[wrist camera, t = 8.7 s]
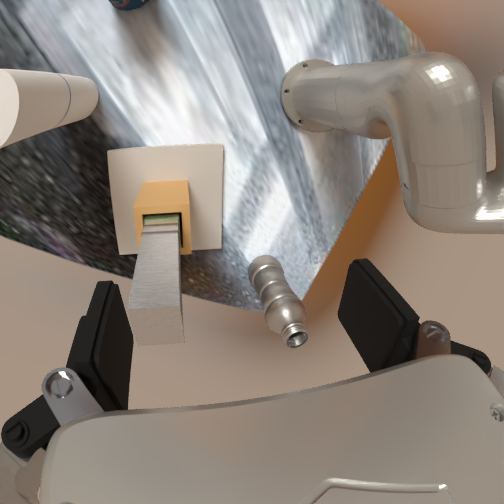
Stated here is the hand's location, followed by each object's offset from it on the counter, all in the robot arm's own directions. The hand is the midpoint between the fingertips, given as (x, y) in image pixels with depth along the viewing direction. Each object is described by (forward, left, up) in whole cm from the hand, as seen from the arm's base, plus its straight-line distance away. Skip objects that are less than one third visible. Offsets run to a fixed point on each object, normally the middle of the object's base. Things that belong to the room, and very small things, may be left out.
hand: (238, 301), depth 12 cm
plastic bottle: (-12, +23, -38) cm, 46 cm away
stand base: (+5, +9, -38) cm, 39 cm away
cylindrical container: (+19, -9, -38) cm, 43 cm away
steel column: (+5, +9, -30) cm, 32 cm away
